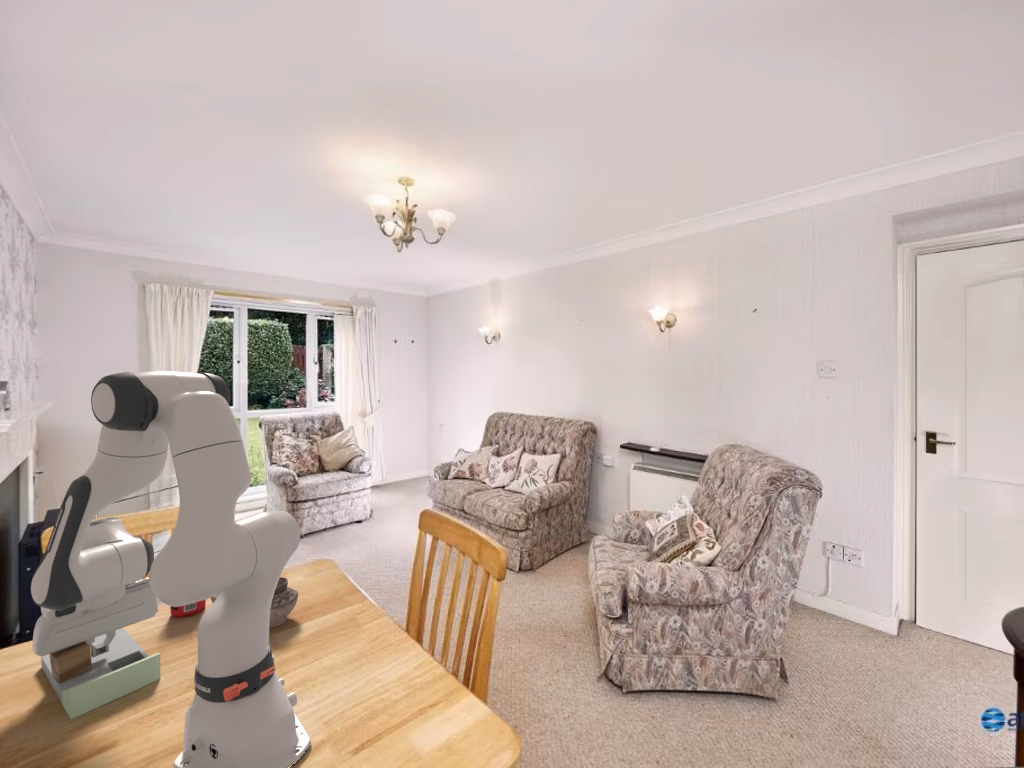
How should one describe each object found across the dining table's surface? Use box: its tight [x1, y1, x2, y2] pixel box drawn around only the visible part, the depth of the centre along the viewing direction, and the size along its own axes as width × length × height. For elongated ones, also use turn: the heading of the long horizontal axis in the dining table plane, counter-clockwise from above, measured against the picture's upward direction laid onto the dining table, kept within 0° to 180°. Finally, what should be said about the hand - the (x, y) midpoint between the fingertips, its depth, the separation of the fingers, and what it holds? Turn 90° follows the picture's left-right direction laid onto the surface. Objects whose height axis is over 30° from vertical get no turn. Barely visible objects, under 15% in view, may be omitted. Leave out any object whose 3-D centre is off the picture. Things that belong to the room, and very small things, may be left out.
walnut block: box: [50, 642, 92, 683], centre depth 94 cm, size 5×5×5 cm
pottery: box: [210, 576, 299, 629], centre depth 120 cm, size 11×25×12 cm, turn 75°
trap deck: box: [40, 627, 161, 720], centre depth 98 cm, size 26×14×6 cm, turn 55°
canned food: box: [170, 599, 207, 619], centre depth 124 cm, size 8×8×11 cm
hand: (100, 653), depth 99 cm, fingers closed
